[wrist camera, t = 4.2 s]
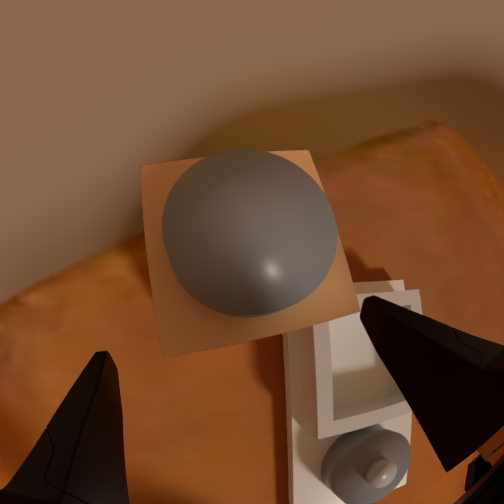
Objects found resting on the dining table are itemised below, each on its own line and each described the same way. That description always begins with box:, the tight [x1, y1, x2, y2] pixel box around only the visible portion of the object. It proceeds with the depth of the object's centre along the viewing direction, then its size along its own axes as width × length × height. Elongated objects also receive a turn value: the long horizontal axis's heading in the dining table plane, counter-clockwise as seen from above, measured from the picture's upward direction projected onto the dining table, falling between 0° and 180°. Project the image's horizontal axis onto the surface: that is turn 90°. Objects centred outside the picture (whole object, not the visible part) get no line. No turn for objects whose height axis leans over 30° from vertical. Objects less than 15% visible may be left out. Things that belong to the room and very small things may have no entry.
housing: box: [282, 280, 422, 504], centre depth 16 cm, size 18×10×5 cm, turn 3°
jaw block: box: [140, 149, 361, 357], centre depth 12 cm, size 4×4×14 cm
